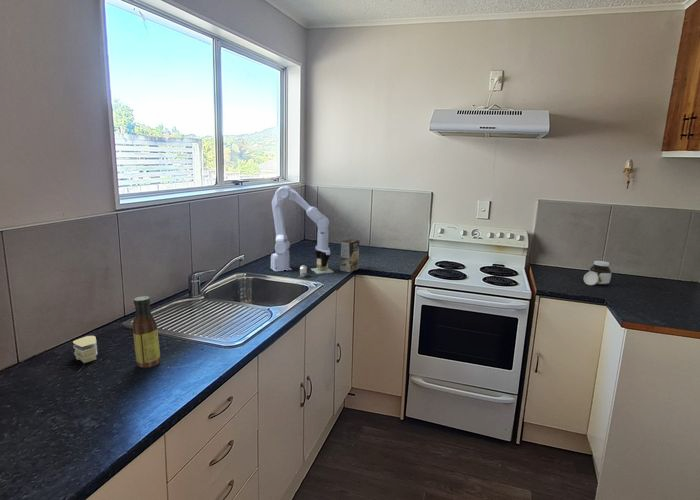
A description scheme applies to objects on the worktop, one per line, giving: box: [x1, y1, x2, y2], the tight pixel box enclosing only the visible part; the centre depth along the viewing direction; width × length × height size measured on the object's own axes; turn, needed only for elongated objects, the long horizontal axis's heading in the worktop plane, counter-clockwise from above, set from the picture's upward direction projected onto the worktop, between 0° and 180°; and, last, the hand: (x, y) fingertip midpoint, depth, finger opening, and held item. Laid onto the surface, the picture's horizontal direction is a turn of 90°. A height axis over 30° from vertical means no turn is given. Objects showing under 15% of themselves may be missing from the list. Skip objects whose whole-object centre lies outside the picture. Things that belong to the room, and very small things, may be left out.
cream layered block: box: [72, 335, 98, 364], centre depth 126 cm, size 10×9×6 cm
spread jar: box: [583, 260, 612, 287], centre depth 223 cm, size 12×11×12 cm
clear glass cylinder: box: [299, 265, 308, 278], centre depth 218 cm, size 4×4×5 cm
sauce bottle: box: [132, 295, 161, 369], centre depth 122 cm, size 6×6×20 cm
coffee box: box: [339, 238, 360, 273], centre depth 233 cm, size 9×6×16 cm
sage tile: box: [310, 267, 335, 275], centre depth 230 cm, size 9×9×1 cm
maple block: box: [316, 258, 329, 270], centre depth 229 cm, size 4×4×5 cm
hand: (322, 265), depth 229 cm, fingers closed on maple block, 4 cm apart
